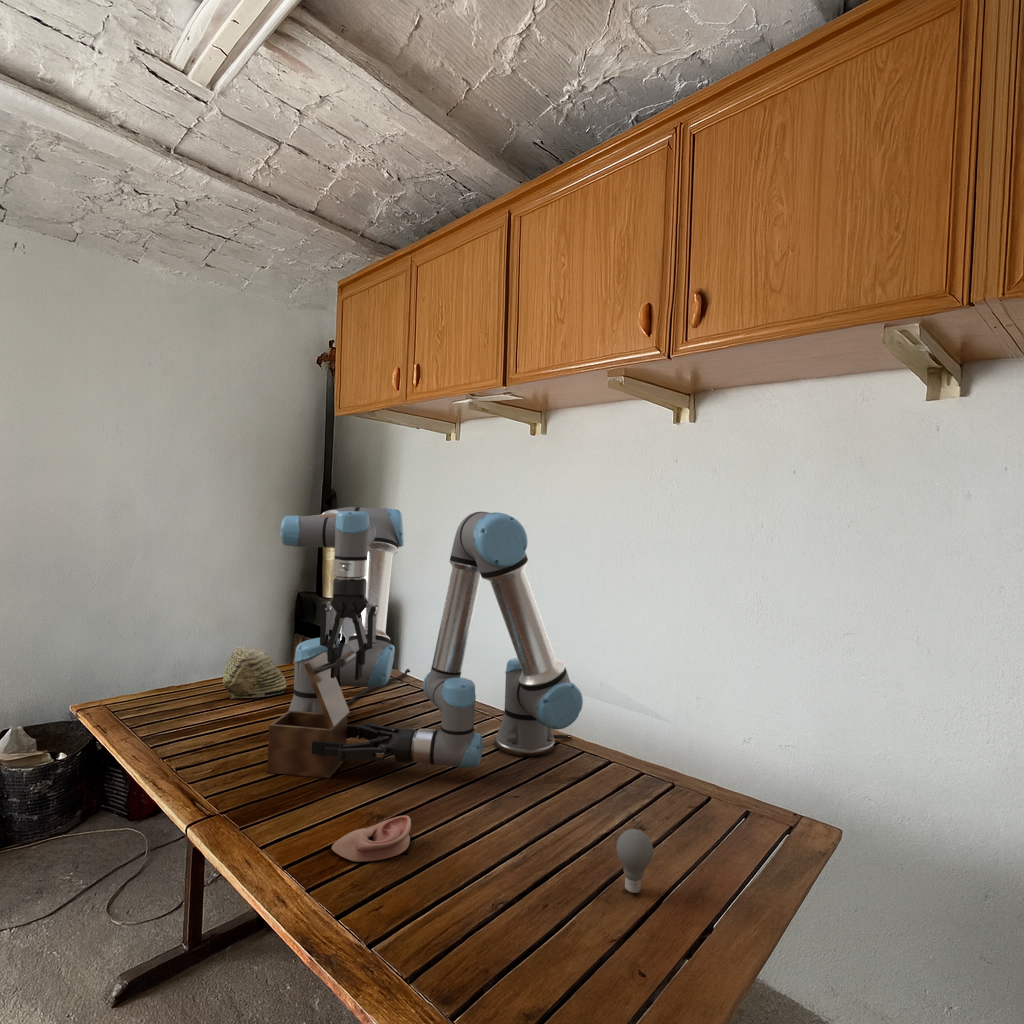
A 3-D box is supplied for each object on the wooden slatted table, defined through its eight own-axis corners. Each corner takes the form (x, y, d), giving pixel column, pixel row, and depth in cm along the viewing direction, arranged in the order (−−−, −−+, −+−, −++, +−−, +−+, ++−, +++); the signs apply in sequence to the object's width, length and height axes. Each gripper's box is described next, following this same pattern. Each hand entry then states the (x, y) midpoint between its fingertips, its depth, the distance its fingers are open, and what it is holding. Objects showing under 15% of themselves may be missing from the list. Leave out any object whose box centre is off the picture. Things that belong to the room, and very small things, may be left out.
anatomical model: (323, 834, 111) (353, 804, 123) (323, 856, 111) (352, 824, 123) (394, 845, 109) (418, 814, 120) (393, 868, 109) (417, 834, 120)
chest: (267, 772, 144) (268, 725, 144) (287, 754, 154) (289, 710, 154) (329, 778, 143) (331, 730, 142) (345, 760, 153) (347, 715, 153)
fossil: (218, 695, 195) (220, 647, 195) (278, 685, 208) (279, 640, 207) (228, 703, 189) (230, 653, 188) (289, 692, 201) (290, 645, 201)
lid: (303, 664, 143) (337, 650, 142) (321, 653, 153) (353, 640, 152) (329, 728, 142) (363, 715, 142) (345, 713, 153) (377, 701, 152)
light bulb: (610, 879, 108) (613, 822, 108) (644, 879, 109) (647, 822, 109) (619, 902, 102) (622, 840, 102) (655, 901, 103) (658, 840, 103)
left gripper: (305, 577, 144) (301, 679, 144) (383, 581, 142) (379, 684, 143) (318, 573, 151) (315, 670, 152) (393, 577, 150) (389, 675, 150)
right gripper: (401, 783, 135) (300, 775, 137) (425, 743, 157) (339, 736, 159) (402, 748, 134) (302, 740, 137) (426, 713, 157) (340, 706, 159)
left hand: (346, 677), depth 147 cm, fingers open, 5 cm apart
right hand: (322, 738), depth 148 cm, fingers closed on chest, 10 cm apart
